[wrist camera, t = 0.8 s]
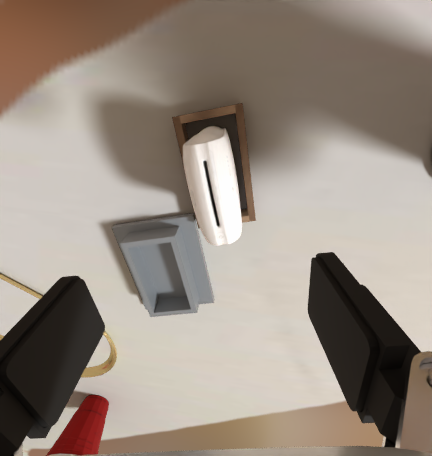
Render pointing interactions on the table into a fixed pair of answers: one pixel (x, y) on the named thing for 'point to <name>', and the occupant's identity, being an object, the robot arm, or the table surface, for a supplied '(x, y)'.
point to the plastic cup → (83, 429)
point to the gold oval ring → (112, 359)
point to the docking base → (166, 263)
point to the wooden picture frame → (238, 110)
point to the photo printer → (213, 185)
